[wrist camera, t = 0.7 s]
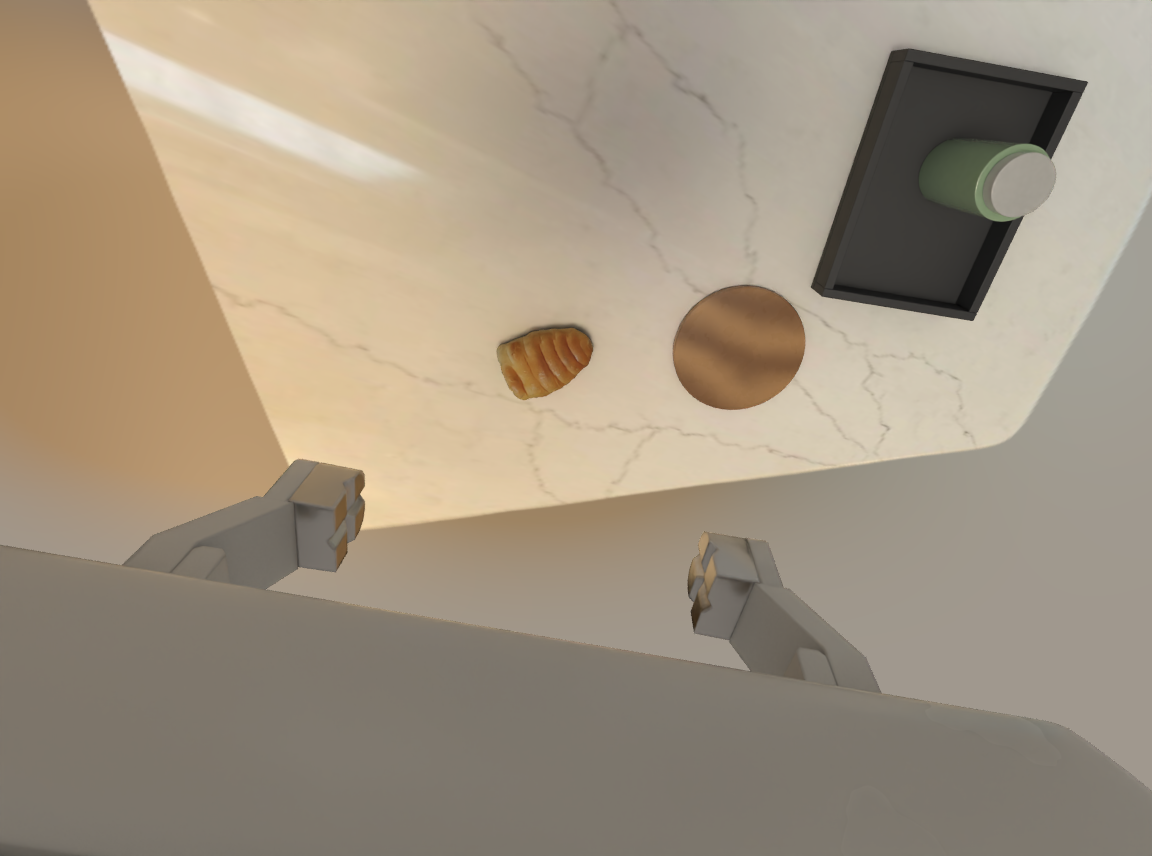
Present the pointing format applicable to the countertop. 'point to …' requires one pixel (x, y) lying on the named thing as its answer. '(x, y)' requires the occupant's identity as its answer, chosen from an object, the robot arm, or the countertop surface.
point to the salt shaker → (987, 177)
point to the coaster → (738, 347)
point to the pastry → (543, 361)
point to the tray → (893, 197)
